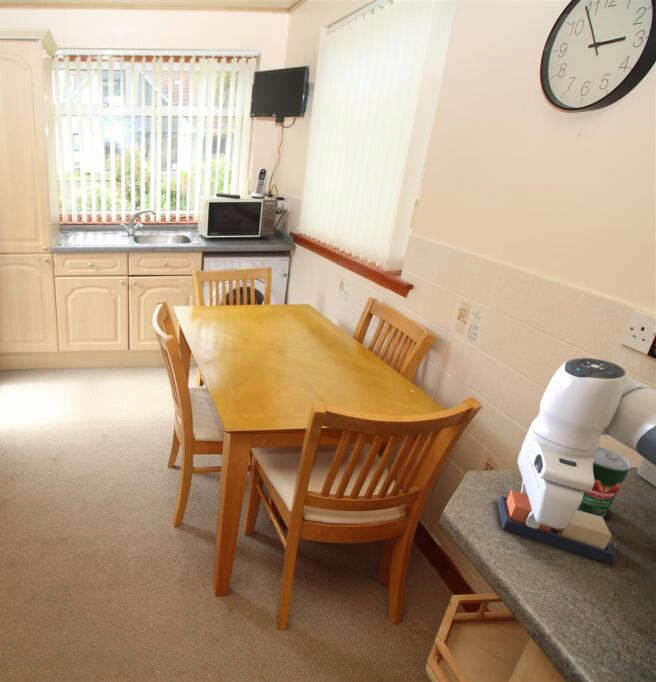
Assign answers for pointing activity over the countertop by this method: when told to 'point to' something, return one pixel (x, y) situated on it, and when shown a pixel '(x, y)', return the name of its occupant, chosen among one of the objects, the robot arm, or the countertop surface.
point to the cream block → (587, 530)
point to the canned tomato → (605, 481)
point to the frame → (552, 537)
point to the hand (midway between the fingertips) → (527, 513)
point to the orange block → (520, 508)
